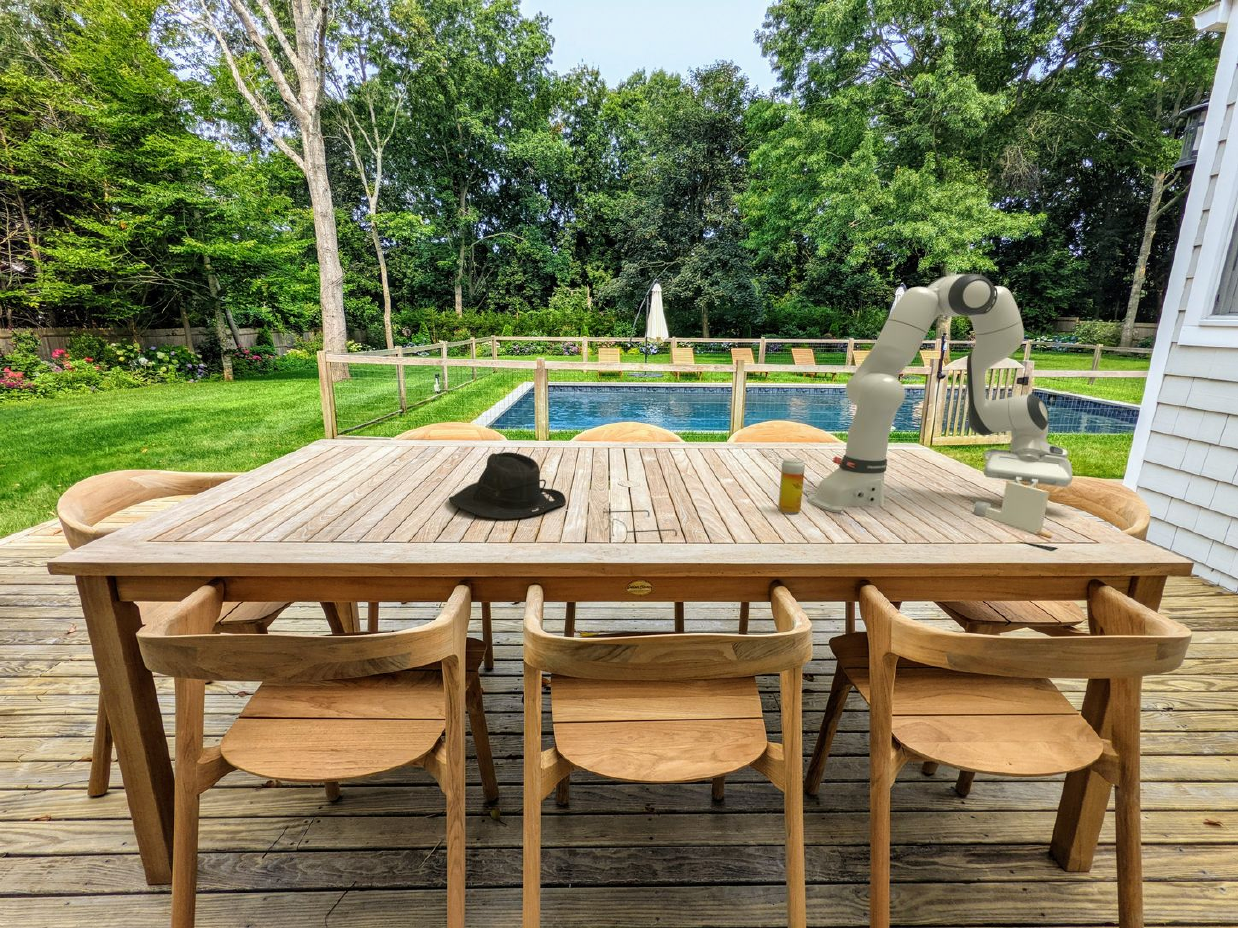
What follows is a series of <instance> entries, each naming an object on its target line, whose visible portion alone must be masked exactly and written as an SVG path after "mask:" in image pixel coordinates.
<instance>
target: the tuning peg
mask: <svg viewBox="0 0 1238 928" xmlns="http://www.w3.org/2000/svg"><path fill="white" fill-rule="evenodd" d="M1030 486H1031V485H1027V484H1026V485H1025V484H1023V483H1021V484H1018V483H1015V482H1014V481H1006V483H1005V489H1004V494H1003V498H1002V504H1001V508H1000V509H1001V510H999V509H996V508H992V507H991V505H992V504H991V503H989V502H985V501H975V504H974V508H973V509H974V510H973V514H974V515H976V516H979V517H984V518H987V519H991V520H994V521H995V522H1000V523H1002V524H1005V525H1008V526H1011V527H1015V528H1016V529H1020V530H1023V531H1026V532H1028V533H1031V534H1033V535H1034V534H1035V535H1041V536H1044V537H1046V538H1050V539H1051V538H1052V537H1053V535H1052V534H1049V533H1048V534H1047V533H1046V532H1042V530H1043V526H1044V520H1045V516H1046V512H1047V511H1046V510H1047V507H1048V501H1049V496H1050V491H1049V490H1048V491H1047V490H1044V489H1040V488H1036V487H1035V488H1033V487H1030Z"/></svg>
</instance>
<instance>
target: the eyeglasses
mask: <svg viewBox="0 0 1238 928" xmlns="http://www.w3.org/2000/svg"><path fill="white" fill-rule="evenodd" d="M639 512H641V513H642V512H647V517H648V518H649V517H650V514H651V512H650V511H649V510H647V509H642V510H641V509H638V510H637V509H635V510H611V511H608V510H607V509H606V507H604V508H603V511H602V513H603V514H602V518H605V517H604V516H605V515H604V514H607V515H608V518H607V520H608V525H607V527H606V528H605V529H606V530H608V529H609V526H610V523H612V524H611V533H612V536H613V537H615V533H614V521H618V522H619V523H621V524H623V525H624V527H625V529H626V536H625V539H624V541H623V543H624V542H626V541H627V538H628V533H631V534H632V533H650V532H651V533H653V532H672V531H673V532H674V536H675V537H677V536H678V531H677V530H676V529H674V528H667V529H651V530H650V529H649V530H648V529H647V530H628V528H627V526H626V524H625V523H624V522H623V521H621V520H619V519H617V518H614V517H613V516H611V515H610V514H609V513H639ZM610 518H612V521H611V519H610Z"/></svg>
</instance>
